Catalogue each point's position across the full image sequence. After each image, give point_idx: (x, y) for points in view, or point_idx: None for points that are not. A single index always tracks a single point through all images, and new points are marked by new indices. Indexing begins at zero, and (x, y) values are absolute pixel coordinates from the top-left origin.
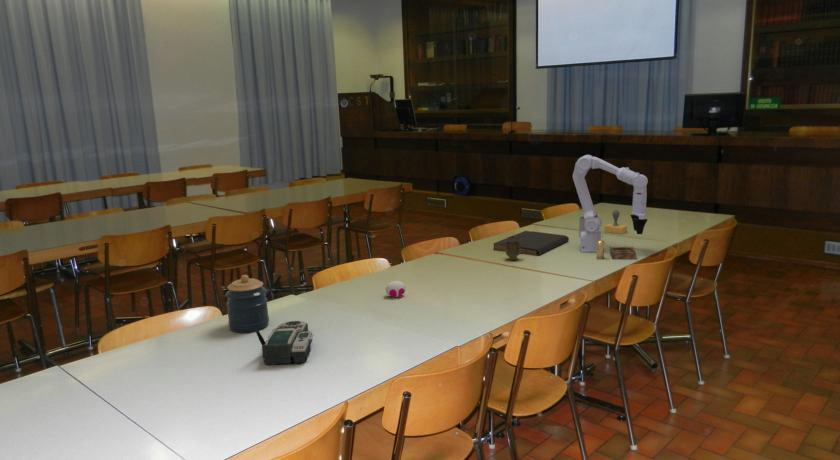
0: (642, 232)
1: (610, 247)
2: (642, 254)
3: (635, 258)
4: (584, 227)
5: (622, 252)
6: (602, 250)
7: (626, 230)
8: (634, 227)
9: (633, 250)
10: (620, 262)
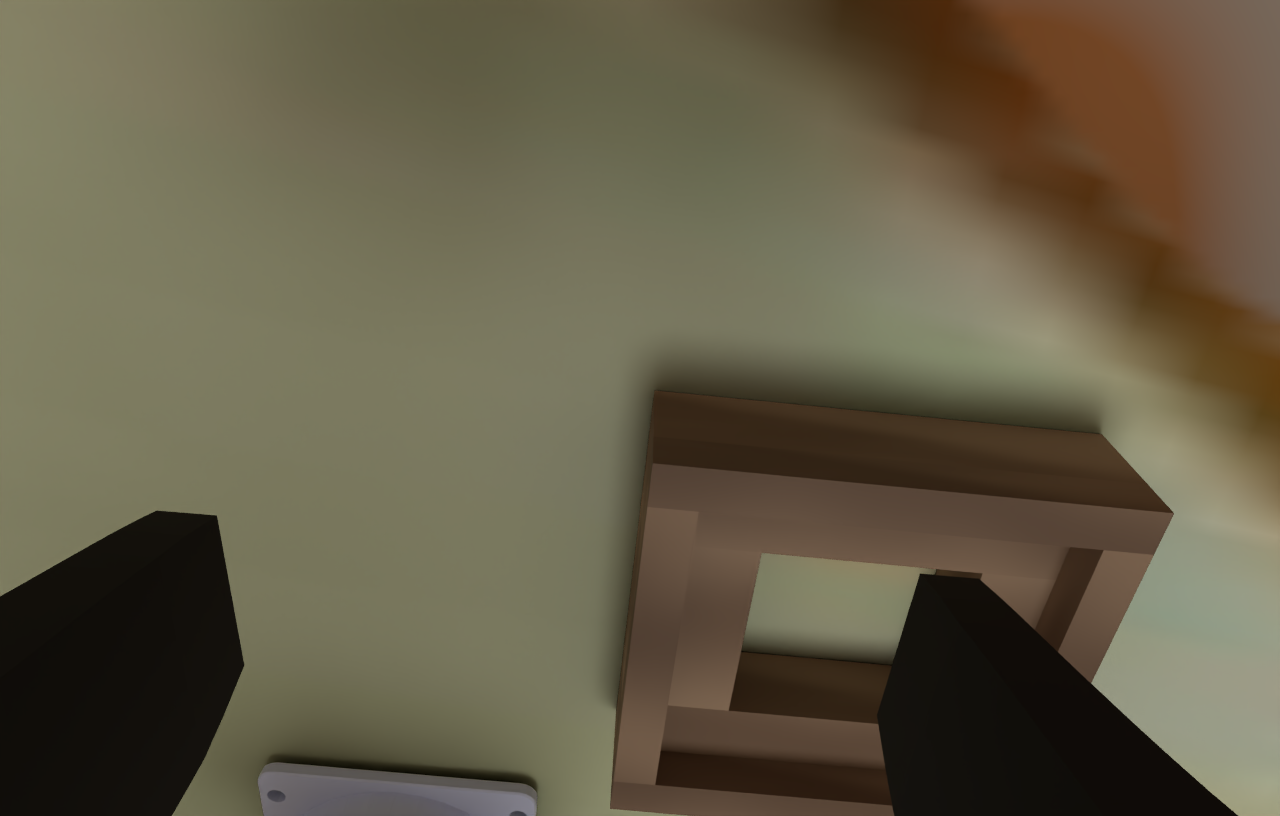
0: (1022, 621)
1: (642, 805)
2: (725, 209)
3: (1107, 452)
4: None
5: None
6: None
7: None
8: (175, 776)
9: (958, 517)
10: (1206, 685)
